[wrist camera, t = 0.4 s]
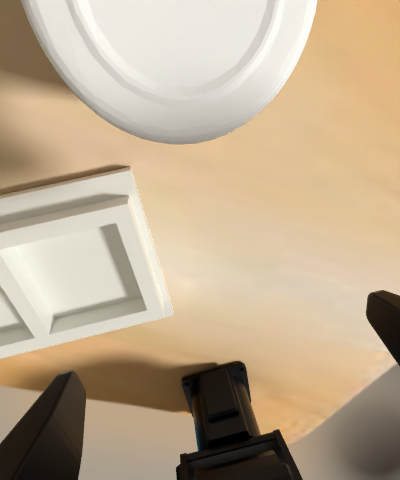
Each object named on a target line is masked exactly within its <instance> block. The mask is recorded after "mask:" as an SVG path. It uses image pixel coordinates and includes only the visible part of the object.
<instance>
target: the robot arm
mask: <svg viewBox="0 0 400 480" xmlns="http://www.w3.org/2000/svg"><path fill="white" fill-rule="evenodd" d="M366 316H367V319H368V321H369V323H370V324H371V326H372V327H373V328H374V330H375V331H376V333H377V334H378V336H379V337H380V339H381V340H382V342H383V343H384V344H385V346H386V347H387V349H388V350H389V352H390V353H391V355H392V356H393V357H394V359H395V360H396V362H397V363H398V364H399V366H400V296H399V295H396V294H393V293H390V292H388V291H384V290H380V291H376V292H372V293H370V294H369V295H368V299H367V308H366ZM182 387H183V389H184V392H185V395H186V398H187V401H188V404H189V407H190V410H191V413H192V416H193V418H194V424H195V432H196V439H197V446H198V451H197V452H193V453H190V454H187V453H184V454H180V462H181V464H180V465H178V466H177V467H176V472H177V473H176V474H177V480H303V479H302V477H301V475H300V473H299V470H298V469H297V466H296V464H295V462H294V460H293V458H292V456H291V454H290V452H289V449H288V447H287V445H286V443H285V441H284V439H283V437H282V435H281V433H280V431H279V429H278V430H274V431H273V432H271V433H267V434H263V435H261V434H260V431H259V428H258V425H257V422H256V419H255V415H254V412H253V409H252V406H251V397H250V390H249V384H248V377H247V371H246V367H245V364H244V363H237V364H233V365H230V366H226V367H222V368H218V369H214V370H210V371H207V372H203V373H199V374H195V375H191V376H188V377H184V378H183V379H182ZM85 404H86V391H85V388H84V386H83V384H82V382H81V381H80V379H79V377H78V375H77V374H76V372H75V371H68V372H64V373H61V374H59V375H57V376H56V378H55V379H54V380H53V381H52V382H51V384H50V385H49V386H48V387H47V388H46V390H45V391H44V392H43V393H42V394H41V396H40V397H39V398H38V399H37V400H36V402H35V403H34V404H33V405H32V406H31V407H30V409H29V410H28V411H27V412H26V414H25V415H24V416H23V417H22V418H21V420H20V421H19V422H18V423H17V424H16V425H15V427H14V428H13V429H12V430H11V431H10V433H9V434H8V435H7V436H6V438H5V439H4V440H3V441H2V442H1V444H0V480H78V475H79V470H80V463H81V457H82V447H83V434H84V419H85Z"/></svg>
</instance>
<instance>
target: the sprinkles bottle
mask: <svg viewBox="0 0 400 480" xmlns="http://www.w3.org/2000/svg"><path fill="white" fill-rule="evenodd" d="M21 2H22V5H23V8H24V10H25V13H26V16H27V19H28V21H29V23H30V25H31V28H32V30H33V32H34V34H35V36H36V38H37V40H38V42H39V44H40V46H41V48H42V50H43V51H44V53H45V55H46V56H47V58H48V59H49V61H50V62H51V64H52V65H53V67H54V69H55V70H56V71H57V73H58V74H59V76H60V77H61V79H62V80H63V81H64V82H65V83H66V84H67V86H68V87H69V88H70V89H71V90H72V91H73V92H74V94H75V95H76V96H77V97H78V98H79V99H80V100H81V101H82V102H83V103H84V104H86V105H87V106H88V107H89V108H90V109H91V110H92V111H94V112H95V113H96V114H97V115H99V116H100V117H101V118H103V119H104V120H106V121H107V122H109V123H110V124H112V125H114V126H115V127H117V128H119V129H121V130H123V131H125V132H127V133H130V134H132V135H135V136H137V137H140V138H142V139H146V140H150V141H154V142H160V143H167V144H194V143H200V142H205V141H209V140H212V139H215V138H218V137H221V136H223V135H226V134H228V133H230V132H232V131H234V130H236V129H237V128H239V127H241V126H242V125H244V124H246V123H247V122H248V121H250V120H251V119H252V118H253V117H255V116H256V115H257V114H258V113H259V112H260V111H261V110H263V109H264V108H265V107H266V106H267V105H268V104H269V103H270V102H271V101H272V99H273V98H274V97H275V96H276V95H277V94H278V92H279V91H280V90H281V88H282V87H283V85H284V84H285V82H286V81H287V79H288V78H289V76H290V74H291V73H292V71H293V69H294V67H295V65H296V64H297V62H298V60H299V57H300V55H301V53H302V51H303V49H304V46H305V44H306V41H307V38H308V35H309V33H310V29H311V26H312V22H313V19H314V15H315V11H316V5H317V0H21Z"/></svg>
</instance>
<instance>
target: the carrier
mask: <svg viewBox="0 0 400 480" xmlns="http://www.w3.org/2000/svg"><path fill="white" fill-rule="evenodd" d="M173 315H174V312H173V306H172V302H171V299H170V295H169V292H168V289H167V285H166V282H165V279H164V275H163V272H162V269H161V265H160V262H159V259H158V255H157V252H156V248H155V245H154V242H153V238H152V235H151V232H150V228H149V225H148V222H147V218H146V215H145V212H144V208H143V205H142V202H141V198H140V195H139V191H138V188H137V185H136V181H135V178H134V175H133V171H132V168H131V167H127V168H122V169H118V170H113V171H109V172H104V173H99V174H95V175H90V176H86V177H81V178H77V179H72V180H67V181H63V182H58V183H54V184H49V185H45V186H40V187H35V188H31V189H26V190H22V191H17V192H13V193H8V194H3V195H0V359H1V358H5V357H9V356H13V355H17V354H21V353H25V352H29V351H33V350H37V349H41V348H45V347H49V346H53V345H57V344H61V343H65V342H69V341H73V340H77V339H81V338H85V337H89V336H93V335H97V334H101V333H105V332H109V331H113V330H117V329H121V328H125V327H129V326H133V325H137V324H141V323H145V322H149V321H153V320H157V319H161V318H165V317H169V316H173Z"/></svg>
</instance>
